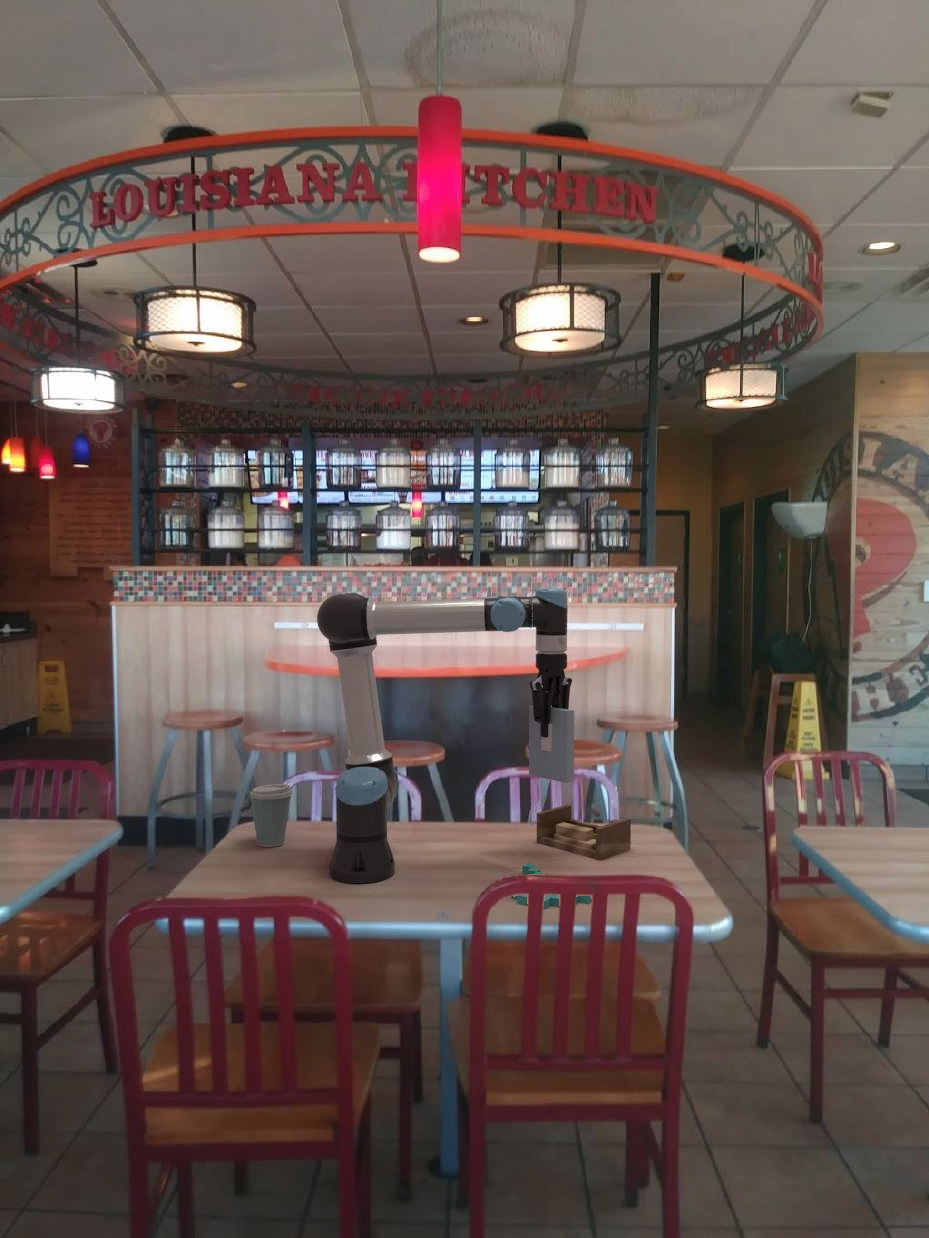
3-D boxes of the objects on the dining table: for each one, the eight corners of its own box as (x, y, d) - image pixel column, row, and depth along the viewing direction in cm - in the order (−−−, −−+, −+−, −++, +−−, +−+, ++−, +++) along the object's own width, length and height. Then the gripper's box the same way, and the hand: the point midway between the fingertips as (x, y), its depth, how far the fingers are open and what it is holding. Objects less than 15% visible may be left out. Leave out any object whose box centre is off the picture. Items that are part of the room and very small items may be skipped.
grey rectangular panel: (529, 774, 215) (529, 706, 214) (535, 773, 217) (535, 705, 216) (567, 782, 207) (567, 711, 206) (573, 781, 208) (574, 710, 208)
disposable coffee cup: (242, 848, 221) (241, 789, 220) (262, 836, 232) (261, 780, 231) (281, 851, 219) (280, 792, 218) (299, 839, 229) (298, 782, 228)
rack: (536, 848, 221) (536, 812, 221) (566, 838, 230) (566, 804, 229) (600, 866, 207) (601, 829, 207) (630, 855, 215) (630, 819, 215)
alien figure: (526, 872, 205) (488, 900, 187) (526, 862, 204) (488, 889, 187) (608, 886, 195) (577, 917, 178) (608, 876, 195) (577, 906, 178)
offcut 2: (553, 844, 220) (553, 834, 220) (563, 840, 223) (563, 831, 222) (591, 854, 211) (592, 844, 211) (602, 851, 214) (602, 841, 214)
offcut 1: (555, 834, 219) (555, 824, 219) (562, 832, 222) (563, 822, 221) (586, 841, 213) (586, 831, 213) (593, 838, 216) (593, 828, 216)
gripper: (542, 655, 202) (541, 756, 203) (584, 651, 213) (583, 747, 214) (518, 653, 208) (517, 751, 209) (560, 649, 219) (559, 743, 220)
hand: (551, 749), depth 211 cm, fingers closed on grey rectangular panel, 2 cm apart
